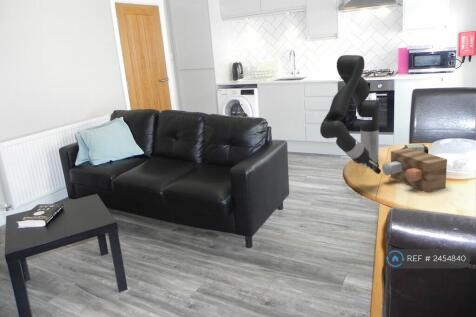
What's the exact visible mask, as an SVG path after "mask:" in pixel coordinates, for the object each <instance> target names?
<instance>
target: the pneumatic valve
mask: <svg viewBox="0 0 476 317" xmlns="http://www.w3.org/2000/svg"><path fill="white" fill-rule="evenodd" d="M404 148H411V149H415V150H418V151H421V152H425V153H428V154H429V147H428V146H426V145H425V144H424V143H421V144H420V143H419V144H418V143H413V144H412V143H411V144H404V147H402V148H401V149H404Z"/></svg>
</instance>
